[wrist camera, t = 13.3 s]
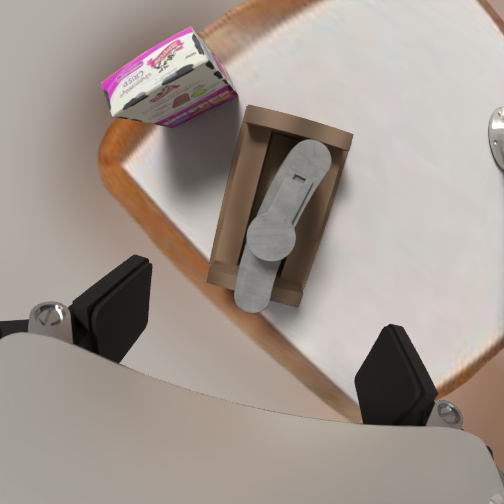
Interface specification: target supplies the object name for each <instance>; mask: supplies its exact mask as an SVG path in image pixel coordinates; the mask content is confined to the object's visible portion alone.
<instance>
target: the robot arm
mask: <svg viewBox="0 0 504 504" xmlns="http://www.w3.org/2000/svg"><path fill="white" fill-rule="evenodd" d="M489 139H490V145H491V149H492V152H493V155H494V157H495V159H496V161H497V163H498V165H499V166H500V167H501V168H502V169H503V170H504V107H499V108H498V109H496V110H495V111H494V112H493V114H492V116H491V119H490V124H489ZM151 276H152V264H151V263H149V259H148V258H145V257H141V256H138V255H133V256H131V257H130V258H129V259H127V260H126V261H125V262H123V263H122V264H120V265H119V266H118V267H116V268H115V269H114V270H112V271H111V272H110V273H109V274H107V275H106V276H104V277H103V278H102V279H101V280H99V281H98V282H97V283H95V284H94V285H93V286H91V287H90V288H89V289H88V290H86V291H85V292H84V293H83V294H81V295H80V296H79V297H78V298H76V299H75V300H74V301H73V304H72V305H70V306H69V307H68V308H67V307H66V306H65V305H63V304H61V303H58V302H43V303H41V304H38V305H37V306H35V307H34V308H33V309H32V310H31V312H30V315H29V316H30V317H29V319H28V320H14V321H0V504H504V474H503V472H502V471H501V470H500V469H499V468H498V467H497V465H495V463H494V459H493V455H492V454H493V453H492V450H491V449H490V448H489V447H488V446H486V445H485V444H484V443H483V441H482V440H481V439H479V438H478V437H477V436H475V435H473V434H471V433H469V432H466V431H464V430H463V429H461V428H462V424H463V416H462V414H461V412H460V410H459V409H458V408H457V406H455V405H454V404H452V403H451V402H449V401H446V400H439V401H437V402H436V403H435V402H434V399H435V398H436V396H437V395H438V392H437V390H436V388H435V386H434V384H433V382H432V380H431V378H430V376H429V374H428V372H427V370H426V368H425V366H424V364H423V362H422V360H421V359H420V357H419V355H418V353H417V351H416V349H415V347H414V346H413V344H412V342H411V340H410V338H409V337H408V335H407V333H406V331H405V330H404V328H403V327H402V326H398V325H393V324H389V325H388V326H387V327H386V326H385V327H384V328H383V329H382V331H381V333H380V334H379V336H378V338H377V340H376V342H375V343H374V345H373V347H372V349H371V351H370V352H369V354H368V356H367V357H366V359H365V361H364V362H363V364H362V366H361V367H360V369H359V371H358V372H357V374H356V376H355V381H354V382H355V387H356V392H357V396H358V401H359V405H360V410H361V415H362V420H363V424H358V423H347V422H338V421H329V420H321V419H314V418H307V417H302V416H295V415H290V414H284V413H279V412H274V411H269V410H264V409H260V408H255V407H251V406H246V405H242V404H238V403H234V402H230V401H226V400H223V399H219V398H216V397H212V396H208V395H205V394H202V393H198V392H195V391H192V390H189V389H186V388H182V387H180V386H177V385H174V384H171V383H168V382H165V381H162V380H159V379H157V378H154V377H151V376H148V375H146V374H143V373H141V372H138V371H136V370H133V369H131V368H129V367H126V366H124V365H121V364H119V363H120V362H121V360H122V359H123V358H124V356H125V355H126V354H127V352H128V350H130V348H131V347H132V346H133V344H134V343H135V341H136V340H137V339H138V337H139V336H140V335H141V333H142V332H143V331H144V329H145V328H146V325H147V323H148V311H149V298H150V287H151Z"/></svg>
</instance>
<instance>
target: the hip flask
mask: <svg viewBox="0 0 504 504" xmlns="http://www.w3.org/2000/svg"><path fill="white" fill-rule="evenodd" d="M330 166H331V155H330V152H329V150H328V149H327V147H326V146H325V145H324V144H323V143H321V142H319V141H316V140H304V141H302V142H300V143H298V144H297V145H296V146H295V147H294V148H293V149H292V150H291V151H290V152H289V153H288V155H287V156H286V158H285V159H284V161H283V163H282V164H281V166H280V168H279V169H278V171H277V173H276V175H275V177H274V179H273V181H272V183H271V185H270V187H269V190H268V192H267V194H266V196H265V198H264V200H263V202H262V205H261V207H260V209H259V211H258V214H257V216H256V218H254V220H253V221H252V222H251V224H250V226H249V228H248V230H247V235H246V236H247V243H246V246H245V249H244V252H243V255H242V259H241V263H240V267H239V271H238V275H237V280H236V286H235V292H234V299H235V302H236V304H237V306H238V307H239V308H240V309H242V310H243V311H246V312H249V313H257V312H260V311H262V310H264V309H265V308H266V307H267V306H268V304H269V301H270V297H271V292H272V288H273V284H274V280H275V277H276V274H277V271H278V268H279V265H280V262H281V259H283V258H284V257H286V256H287V255H288V254H290V252H291V251H292V250H293V247H294V246H295V241H296V239H295V238H296V234H295V226H296V224H297V222H298V220H299V218H300V216H301V214H302V212H303V210H304V209H305V207H306V205H307V203H308V201H309V200H310V198H311V196H312V195H313V193H314V191H315V190H316V188H317V187H318V185H319V184H320V182H321V181H322V179H323V178H324V176H325V175H326V173H327V172H328V170H329V169H330Z"/></svg>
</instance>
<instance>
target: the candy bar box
mask: <svg viewBox="0 0 504 504" xmlns="http://www.w3.org/2000/svg"><path fill="white" fill-rule="evenodd" d="M101 85H102V89H103V91H104V94H105V96H106V99H107V102H108V105H109V109H110V111H111V114H112V116H113V117H117V118H123V119H129V120H135V121H141V122H145V123H151V124H156V125H161V126H166V127H170V128H173V127H175V126H177V125H179V124H181V123H183V122H185V121H186V120H188V119H190V118H192V117H194V116H196V115H198V114H200V113H202V112H204V111H206V110H208V109H210V108H212V107H215V106H217V105H219V104H221V103H223V102H225V101H228V100H230V99H232V98H235V97H237V96H238V94H237V92H236V89H235V87H234V85H233V83H232V81H231V79H230V77H229V75H228V72H227V70H226V69H225V68H224V66H223V65H222V64H221V63H220V61H219V60H218V59H217V58H216V56H215V55H214V54H213V52H212V51H211V50H210V49H209V47H208V46H207V45H206V44H205V42H204V41H203V40H202V39H201V38H200V36H199V35H198V34H197V33H196V32H195V30H194V29H193V28H192V27H189V28H187V29H185V30H183V31H181V32H179V33H177V34H175V35H174V36H172V37H170V38H168V39H166V40H165V41H163V42H161V43H160V44H158V45H156V46H154V47H153V48H151V49H149V50H148V51H146V52H145V53H143V54H141V55H140V56H138V57H137V58H135V59H134V60H132V61H131V62H129V63H128V64H126V65H125V66H123V67H122V68H120V69H119V70H118V71H116V72H115V73H114V74H112V75H111V76H109V77H108V78H107V79H105V80H104V81H103V82H101Z"/></svg>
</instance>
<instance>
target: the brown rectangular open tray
mask: <svg viewBox="0 0 504 504" xmlns="http://www.w3.org/2000/svg"><path fill="white" fill-rule="evenodd" d="M352 138H353V134H351V133H348V132H346V131H343V130H340V129H337V128H334V127H331V126H328V125H324V124H321V123H318V122H315V121H311V120H308V119H304V118H301V117H297V116H293V115H290V114H286V113H282V112H278V111H274V110H270V109H266V108H261V107H257V106H252V105H248V106H246V110H245V114H244V118H243V121H242V125H241V129H240V133H239V137H238V141H237V145H236V149H235V153H234V157H233V161H232V165H231V169H230V173H229V177H228V181H227V186H226V190H225V194H224V198H223V203H222V207H221V211H220V216H219V220H218V225H217V229H216V234H215V239H214V243H213V248H212V253H211V257H210V262H209V264H212V265H211V267H210V268H209V273H208V278H207V283H210V284H213V285H217V286H220V287H224V288H227V289H231V290H234V291H235V286H236V280H237V275H238V271H239V267H240V263H241V259H242V255H243V252H244V249H245V246H246V243H247V236H246V235H247V230H248V228H249V226H250V224H251V222H252V221H253V220H254V218H256V216H257V214H258V211H259V209H260V207H261V205H262V202H263V200H264V198H265V196H266V194H267V192H268V190H269V187H270V185H271V183H272V181H273V179H274V177H275V175H276V173H277V171H278V169H279V168H280V166H281V164H282V163H283V161H284V159H285V158H286V156H287V155H288V153H289V152H290V151H291V150H292V149H293V148H294V147H295V146H296V145H297V144H298V143H300V142H302V141H304V140H316V141H319V142H321V143H323V144H324V145H325V146H326V147H327V149H328V150H329V152H330V155H331V166H330V169H329V170H328V172H327V173H326V175H325V176H324V178H323V179H322V181H321V182H320V184H319V185H318V187H317V188H316V190H315V191H314V193H313V195H312V196H311V198H310V200H309V201H308V203H307V205H306V207H305V209H304V210H303V212H302V214H301V216H300V218H299V220H298V222H297V224H296V226H295V234H296V238H295V239H296V241H295V246H294V247H293V250H292V251H291V252H290V254H288V255H287V256H286V257H284V258H283V259H281V262H280V265H279V268H278V271H277V274H276V277H275V280H274V284H273V288H272V292H271V297H270V300H271V301H275V302H279V303H282V304H286V305H290V306H294V307H298V306H299V304H300V301H301V298H302V296H303V289H304V286H305V284H306V281H307V278H308V275H309V272H310V270H311V267H312V264H313V261H314V258H315V255H316V252H317V249H318V246H319V243H320V240H321V237H322V234H323V231H324V228H325V225H326V222H327V219H328V216H329V212H330V209H331V206H332V203H333V200H334V196H335V193H336V190H337V186H338V183H339V179H340V176H341V173H342V169H343V166H344V162H345V158H346V155H347V151H349V149H350V146H351V142H352Z"/></svg>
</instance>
